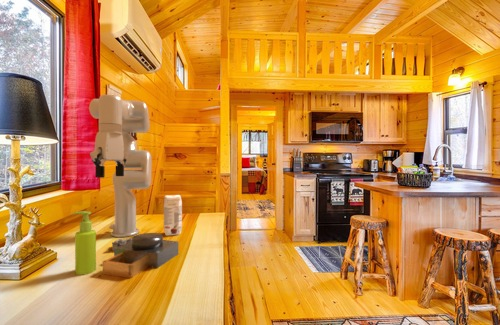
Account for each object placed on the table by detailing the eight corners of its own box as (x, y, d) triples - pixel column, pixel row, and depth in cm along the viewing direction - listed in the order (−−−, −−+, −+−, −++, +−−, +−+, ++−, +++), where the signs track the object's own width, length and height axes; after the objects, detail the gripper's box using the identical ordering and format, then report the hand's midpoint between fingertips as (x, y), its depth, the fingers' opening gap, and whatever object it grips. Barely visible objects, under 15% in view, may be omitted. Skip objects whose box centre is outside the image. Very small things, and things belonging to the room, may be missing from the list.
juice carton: (182, 235, 132) (182, 196, 132) (163, 236, 130) (164, 197, 129) (180, 230, 140) (180, 194, 139) (163, 232, 137) (163, 195, 136)
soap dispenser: (78, 267, 93) (77, 209, 93) (99, 267, 94) (98, 209, 93) (68, 275, 87) (67, 213, 87) (90, 274, 88) (90, 213, 87)
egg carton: (110, 252, 108) (110, 242, 108) (115, 246, 116) (115, 237, 116) (138, 250, 111) (138, 240, 111) (141, 244, 118) (141, 235, 118)
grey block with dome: (93, 272, 89) (93, 248, 89) (139, 249, 112) (139, 230, 111) (140, 279, 85) (140, 254, 85) (178, 254, 107) (178, 233, 107)
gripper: (118, 132, 108) (118, 175, 107) (82, 127, 91) (81, 177, 91) (134, 132, 106) (134, 175, 106) (101, 126, 89) (100, 178, 89)
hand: (110, 176), depth 98 cm, fingers open, 9 cm apart
